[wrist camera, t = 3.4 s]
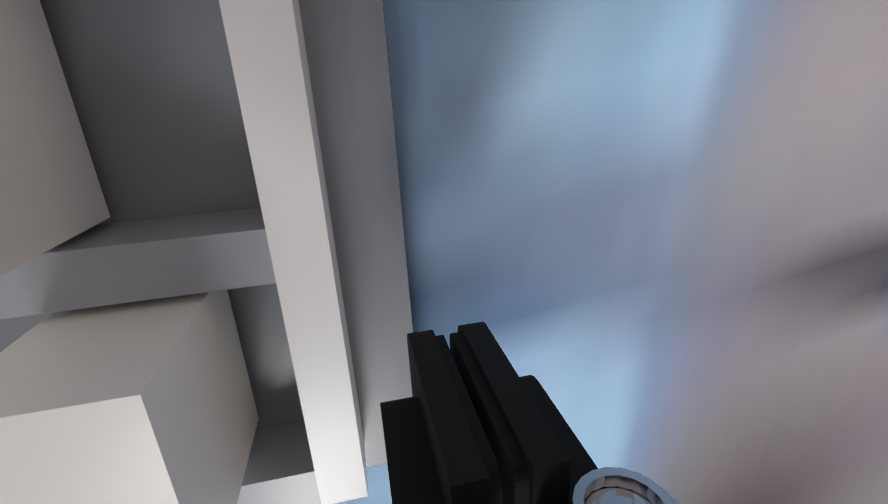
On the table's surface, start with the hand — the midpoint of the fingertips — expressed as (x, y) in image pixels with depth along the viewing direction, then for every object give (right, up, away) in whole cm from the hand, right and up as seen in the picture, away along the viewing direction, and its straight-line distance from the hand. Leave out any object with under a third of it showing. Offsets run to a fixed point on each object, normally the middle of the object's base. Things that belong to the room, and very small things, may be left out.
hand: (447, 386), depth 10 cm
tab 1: (-7, 0, +2) cm, 7 cm away
